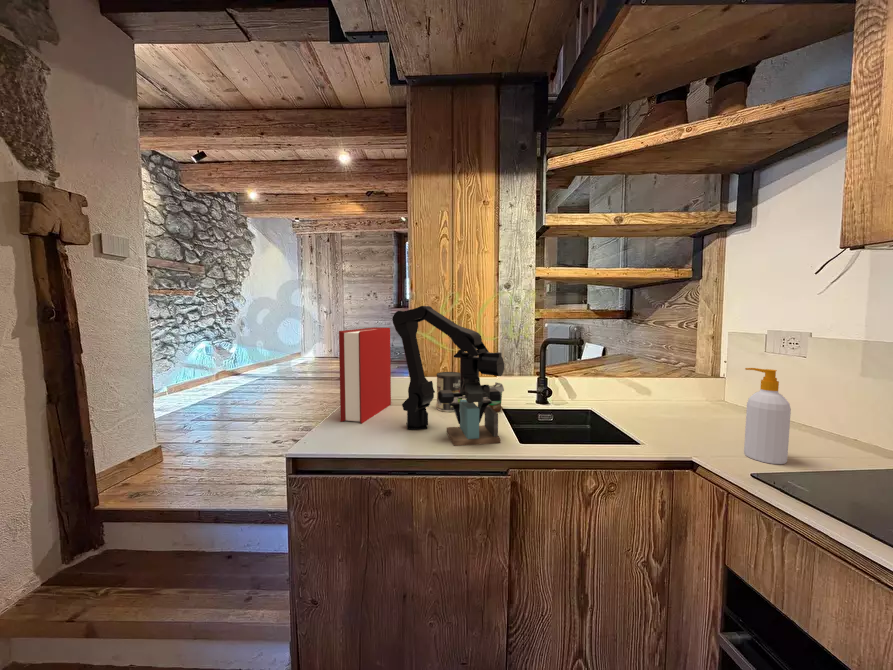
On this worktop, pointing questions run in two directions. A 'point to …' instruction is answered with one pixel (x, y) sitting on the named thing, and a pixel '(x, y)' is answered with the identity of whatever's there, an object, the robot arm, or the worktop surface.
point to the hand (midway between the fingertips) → (469, 423)
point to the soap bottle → (767, 422)
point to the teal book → (469, 419)
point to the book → (364, 373)
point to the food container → (497, 404)
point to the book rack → (486, 432)
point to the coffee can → (447, 388)
